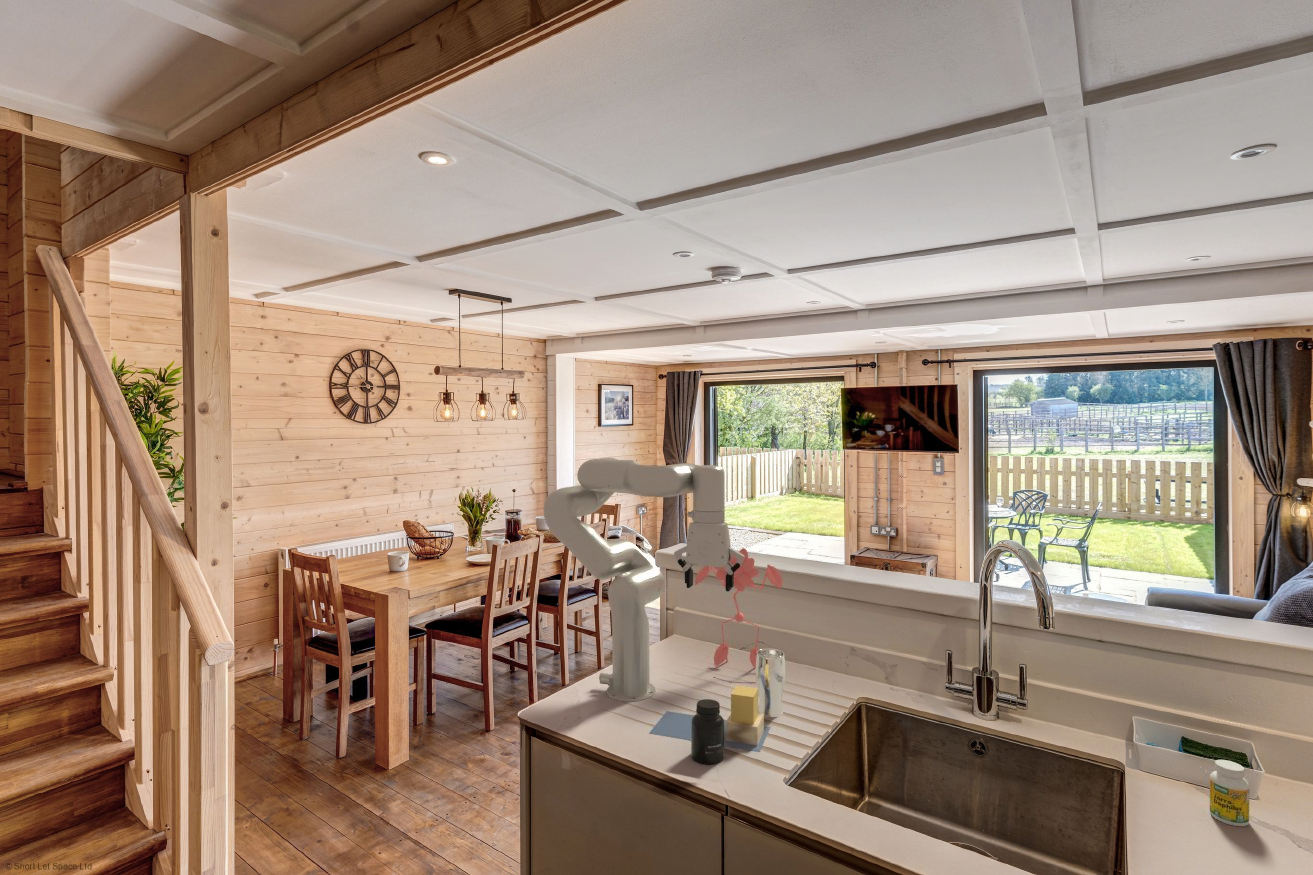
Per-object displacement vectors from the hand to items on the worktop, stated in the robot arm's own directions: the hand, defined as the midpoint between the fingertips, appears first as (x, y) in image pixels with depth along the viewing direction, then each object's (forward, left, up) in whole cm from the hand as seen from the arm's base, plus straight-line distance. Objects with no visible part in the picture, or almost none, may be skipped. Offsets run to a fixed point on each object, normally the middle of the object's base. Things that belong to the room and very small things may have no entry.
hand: (709, 588), depth 162 cm
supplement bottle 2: (+98, -10, -31) cm, 103 cm away
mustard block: (+11, -10, -26) cm, 29 cm away
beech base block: (+11, -10, -30) cm, 33 cm away
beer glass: (+14, +4, -31) cm, 34 cm away
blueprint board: (+3, -10, -30) cm, 32 cm away
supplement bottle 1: (+6, -21, -31) cm, 38 cm away
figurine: (0, +28, -31) cm, 41 cm away
